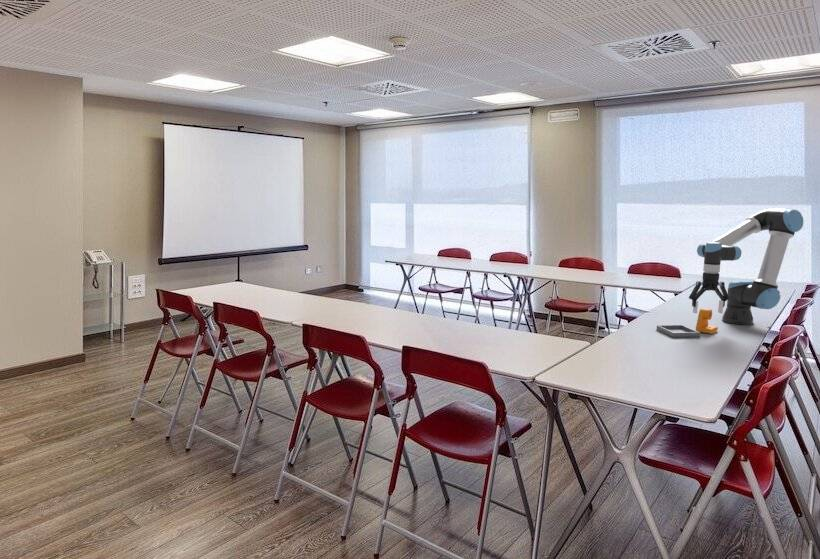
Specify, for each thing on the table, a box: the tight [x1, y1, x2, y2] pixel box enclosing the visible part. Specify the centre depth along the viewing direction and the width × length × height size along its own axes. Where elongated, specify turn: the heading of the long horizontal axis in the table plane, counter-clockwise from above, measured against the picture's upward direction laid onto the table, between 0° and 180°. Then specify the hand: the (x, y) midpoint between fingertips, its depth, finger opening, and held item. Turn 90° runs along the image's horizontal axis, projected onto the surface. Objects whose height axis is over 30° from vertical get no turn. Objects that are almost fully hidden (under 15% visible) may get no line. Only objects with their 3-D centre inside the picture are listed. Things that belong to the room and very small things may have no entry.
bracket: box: [695, 308, 719, 335], centre depth 295 cm, size 11×7×12 cm, turn 133°
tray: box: [656, 324, 701, 339], centre depth 292 cm, size 14×17×2 cm
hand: (707, 313), depth 294 cm, fingers open, 13 cm apart
